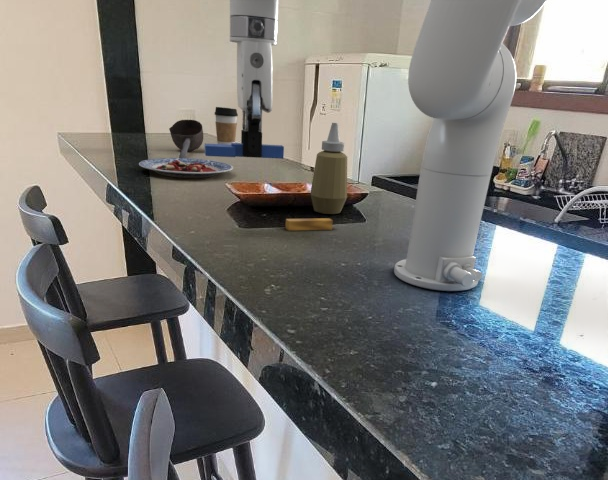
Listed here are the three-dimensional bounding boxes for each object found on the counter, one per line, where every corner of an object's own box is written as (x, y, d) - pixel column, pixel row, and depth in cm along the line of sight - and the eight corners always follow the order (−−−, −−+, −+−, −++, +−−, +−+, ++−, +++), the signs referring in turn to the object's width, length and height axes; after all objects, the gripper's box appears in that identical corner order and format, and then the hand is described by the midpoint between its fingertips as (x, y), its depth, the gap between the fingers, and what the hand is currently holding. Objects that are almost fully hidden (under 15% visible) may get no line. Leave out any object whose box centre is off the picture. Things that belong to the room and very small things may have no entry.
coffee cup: (210, 151, 194) (210, 106, 187) (220, 149, 202) (220, 106, 195) (231, 154, 192) (232, 108, 186) (241, 151, 200) (241, 108, 193)
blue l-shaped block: (280, 156, 95) (281, 144, 94) (284, 159, 92) (284, 147, 91) (204, 153, 92) (204, 140, 92) (205, 156, 89) (205, 143, 88)
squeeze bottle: (342, 217, 113) (352, 125, 104) (305, 213, 114) (311, 122, 106) (347, 210, 120) (356, 123, 111) (312, 206, 121) (319, 120, 113)
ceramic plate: (217, 184, 137) (217, 172, 135) (122, 175, 140) (121, 163, 138) (243, 170, 159) (243, 160, 158) (161, 163, 162) (160, 152, 161)
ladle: (205, 142, 198) (201, 114, 191) (205, 189, 170) (201, 158, 163) (173, 144, 196) (168, 116, 189) (168, 191, 169) (162, 160, 162)
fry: (328, 227, 104) (329, 218, 104) (332, 229, 103) (332, 220, 102) (285, 228, 102) (285, 218, 101) (288, 230, 100) (288, 221, 99)
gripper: (285, 31, 78) (279, 163, 87) (269, 37, 92) (266, 151, 100) (234, 26, 76) (233, 161, 85) (225, 33, 90) (226, 149, 99)
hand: (251, 155), depth 92 cm, fingers closed on blue l-shaped block, 1 cm apart
